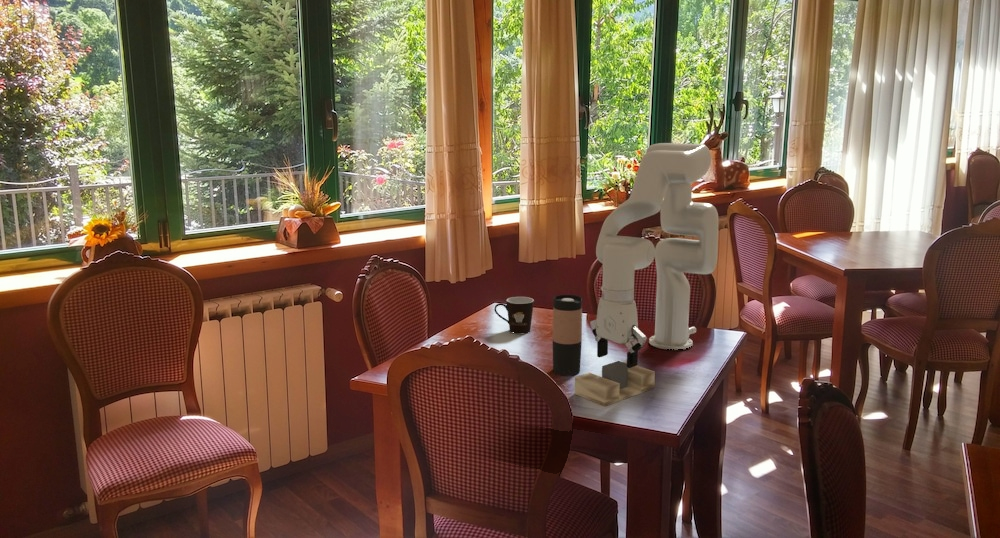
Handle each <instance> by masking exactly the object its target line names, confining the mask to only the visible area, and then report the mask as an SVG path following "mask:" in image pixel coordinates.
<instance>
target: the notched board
mask: <svg viewBox="0 0 1000 538" xmlns="http://www.w3.org/2000/svg"><path fill="white" fill-rule="evenodd" d="M623 362H624V363H627V361H623ZM655 377H656V372H655V370H651V369H648V368H646V367H642V366H640V365H637V366H634V367H632V368H628V377H627V387H626V388H623V389H620V390H619V387H620V383H617V382H614V381H611V380H609V379H606V378H603V377H602V376H600V375H598V374H595V373H593V372H587V373H583V374H582V373H581V374H579V375H575V376H574V395H577V396H579V397H580V398H583V399H586V400H588V401H591V402H594V403H595V404H598V405H601V406H603V407H606V406H609V405H612V404H614V403H617V402H620V401H622V400H625V399H629V398H631V397H634V396H638V395H639V394H642V393H646V392H647V391H650V390H653V389H655V383H656V382H655Z"/></svg>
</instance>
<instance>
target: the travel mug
mask: <svg viewBox="0 0 1000 538" xmlns="http://www.w3.org/2000/svg"><path fill="white" fill-rule="evenodd" d="M552 307H553V308H552V371H553V373H554V374H556V375H560V376H567V377H568V376H569V377H570V376H577V374H580V371H581V361H582V359H581V358H582V340H583V339H582V333H583V332H582V331H583V327H582V326H583V298H582V297H581V296H579V295H574V294H560V295H559V294H558V295H556V296H554V297H553V306H552Z"/></svg>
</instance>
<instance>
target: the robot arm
mask: <svg viewBox="0 0 1000 538" xmlns="http://www.w3.org/2000/svg"><path fill="white" fill-rule="evenodd" d="M711 164H712V154H711V151H710V149H709V147H708V146H707V145H705V144H701V143H677V142H675V143H674V142H659V143H654V144H651V145H649V146H648V147H647V149H646V151H645V154H644V155H643V157H642V158H641V160H640V164H639V166H638V169H637V172H636V175H635V180H634V182H633V185H632V188H631V192H630V196H629V198H627V200H625V201H624V202H621V204H619V205H618V206H617V207H616V208H614V209H613V210H612V212H611V213H609V215H607V217H606V218H605V220H604V222H603V224H602V226H601V228H600V233H599V236H598V239H597V242H596V247H595V254H596V259H597V261H599V262H600V263H601V264H602V285H601V286H600V291H602V296H600V297H599V300H598V306H597V310H596V319H594V320H591V321H590V322H589V324H590V327H591V330H592V334H593V335H594V339H595V342H596V343H597V344H596V345H597V348H596V350H597V351H596V352H597V354H596V355H597V356H596V357H597V358H603V357H605V356H607V355H608V354H609V350H608V349H609V341H610V342H613V343H616V344H620V345H625V346H626V348H627V350H628V352H626V362H627V368H632V367H634V366H638V363H639V362H638V361H639V360H638V359H639V351H641V349H642V348H643V347H644V346H645V344H646V342H647V339H648V340H649V341H648V343H649V344H650V346H653V347H654V348H657V349H661V350H667V349H669V351H679V350H678V349H683V350H687V349H686V348H688V349H690V348H691V346H692V347H693V345H694V344H693V343H694V342H693V340H692V339H691V338H690V335H693V334H695V333H697V328H696V327H695V326H691V327H689V318H690V302H691V301H690V298H691V285H690V282H689V280H688V278H687V277H686V275H685V273H687V274H688V273H689V274H696V275H697V274H698V275H711V274H712V273H713V272H715V270H716V268H717V263H718V254H719V225H720V223H719V213H718V210H717V208H716V207H715V206H714V205H713V204H711V203H708V202H695V201H693V198H692V191H693V190H692V187H693V186H692V184H695V183H696V182H697V181H698V180H700V179H701V178H703V177H704V176H705V175H706V174H707V173H708V171H709V169H710V168H711ZM658 213H660V227H661V229H662V231H663V232H665V233H666V234H669V235H678V236H686V237H687V236H690V237H697V238H698V239H690V238H679V237H678V238H677V237H666V238H662V239H661V240H659V241H658V242H657V243H656V245H654V243H653V241H651V240H650V239H647V238H644V237H635V236H626V235H624V236H623V235H618V233H619V232H620V231H621V230H622V229H624V227H627V226H629V225H630V224H632V223H634V222H637V221H640V220H643V219H645V218H648V217H651V216H654V215H656V214H658ZM654 259H655V268H656V294H655V297H656V299H655V321H654V322H655V324H654V335H651V336H650V337H649V338H648V336H646V334H644V332H642V331H641V330H640V329H639V319H638V309H637V304H636V301H635V271H636V270H642V269H646V268H648V267H649V266H650V265H652V263H653V262H654ZM689 347H690V348H689ZM670 349H672V350H670ZM673 349H674V350H673Z"/></svg>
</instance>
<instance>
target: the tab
mask: <svg viewBox="0 0 1000 538" xmlns="http://www.w3.org/2000/svg"><path fill="white" fill-rule="evenodd" d="M601 377H603V378H606V379H609V380H611V381H614V382H617V383H620V387H619V390H620V389H623V388H626V387H627V377H628V368H627V363H624V361H621V360H620V361H619V360H617V361H613V362H611V363H607V364H605V365H604V364H603V365H602V367H601Z"/></svg>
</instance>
